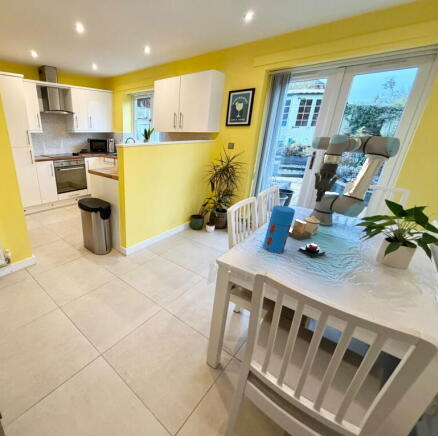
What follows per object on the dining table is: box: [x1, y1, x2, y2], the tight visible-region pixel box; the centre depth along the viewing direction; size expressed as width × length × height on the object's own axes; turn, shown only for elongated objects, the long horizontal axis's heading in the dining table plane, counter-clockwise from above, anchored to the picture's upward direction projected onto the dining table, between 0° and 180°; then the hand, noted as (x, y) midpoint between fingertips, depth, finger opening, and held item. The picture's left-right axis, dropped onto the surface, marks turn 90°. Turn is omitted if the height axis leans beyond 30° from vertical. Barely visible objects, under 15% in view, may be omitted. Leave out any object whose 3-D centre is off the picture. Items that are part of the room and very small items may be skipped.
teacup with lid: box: [303, 216, 320, 236], centre depth 154 cm, size 12×9×12 cm
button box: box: [298, 243, 326, 259], centre depth 129 cm, size 10×8×4 cm
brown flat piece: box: [288, 227, 312, 241], centre depth 150 cm, size 12×11×3 cm
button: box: [309, 242, 319, 249], centre depth 128 cm, size 4×4×2 cm
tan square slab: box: [292, 219, 307, 234], centre depth 148 cm, size 7×2×7 cm, turn 20°
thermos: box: [262, 204, 296, 254], centre depth 128 cm, size 11×11×25 cm
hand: (318, 201), depth 140 cm, fingers closed
